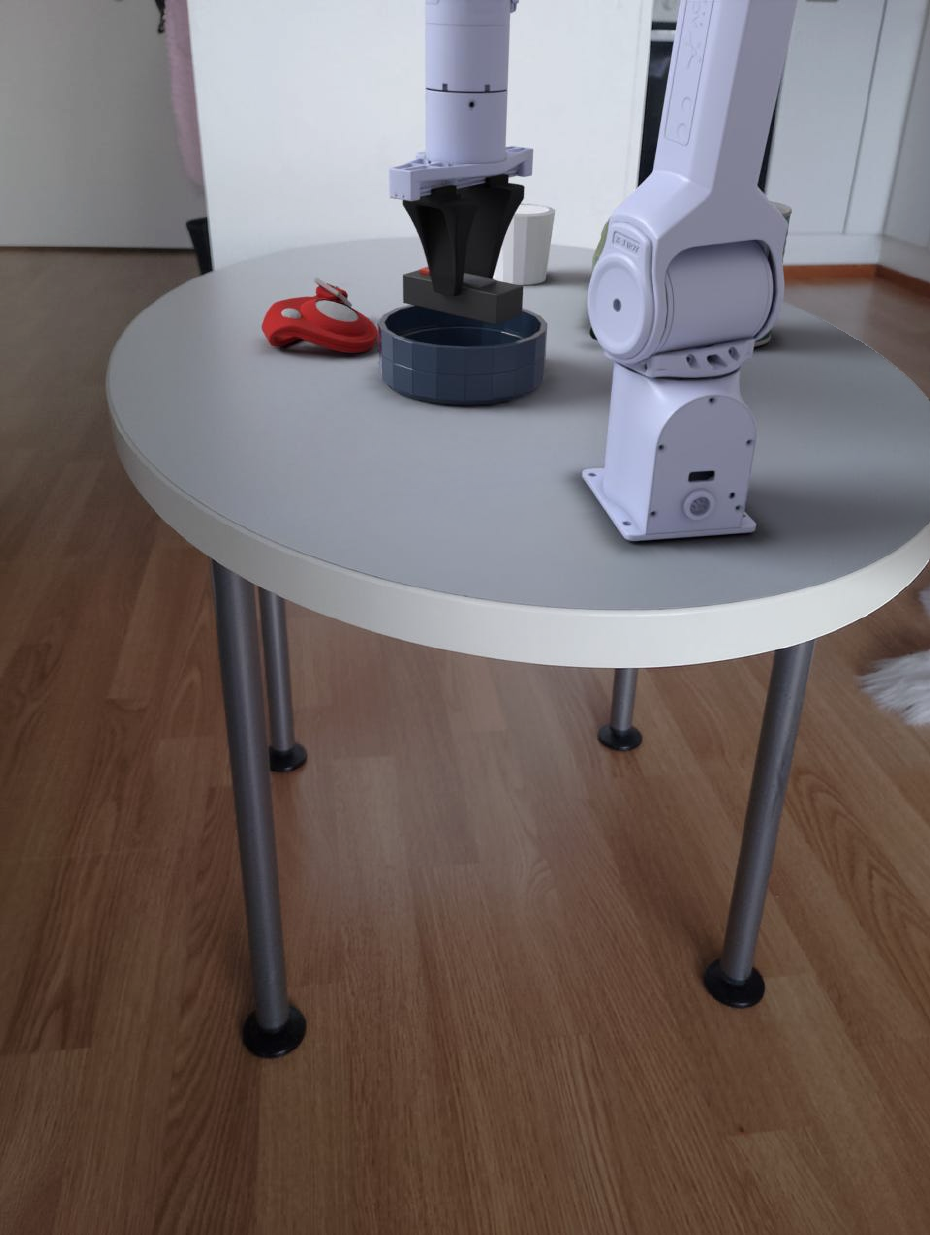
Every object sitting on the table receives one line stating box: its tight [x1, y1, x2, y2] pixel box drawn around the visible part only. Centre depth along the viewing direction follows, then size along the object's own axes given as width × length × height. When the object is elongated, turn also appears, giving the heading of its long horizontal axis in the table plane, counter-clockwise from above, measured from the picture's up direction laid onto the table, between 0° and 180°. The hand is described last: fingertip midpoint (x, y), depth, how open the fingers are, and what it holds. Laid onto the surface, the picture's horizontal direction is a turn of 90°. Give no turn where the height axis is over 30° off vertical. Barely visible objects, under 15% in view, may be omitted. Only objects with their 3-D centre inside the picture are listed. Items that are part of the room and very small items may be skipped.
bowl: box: [377, 304, 549, 406], centre depth 83 cm, size 13×13×4 cm
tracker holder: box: [261, 277, 378, 354], centre depth 92 cm, size 12×4×10 cm
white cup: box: [493, 203, 556, 286], centre depth 110 cm, size 7×7×7 cm
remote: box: [402, 266, 524, 324], centre depth 80 cm, size 9×3×2 cm, turn 53°
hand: (463, 288), depth 80 cm, fingers closed on remote, 3 cm apart
